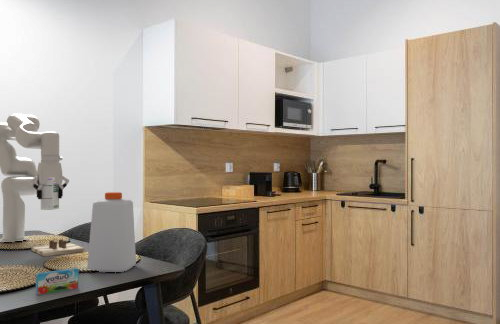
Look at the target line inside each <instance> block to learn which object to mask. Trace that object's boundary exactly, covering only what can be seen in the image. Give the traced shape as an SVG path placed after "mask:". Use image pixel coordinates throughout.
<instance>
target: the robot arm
mask: <svg viewBox="0 0 500 324" xmlns="http://www.w3.org/2000/svg"><path fill="white" fill-rule="evenodd" d="M40 125H41V124H40V120H39V118H38V117H37V116H35V115H33V114H22V113H12V114H11V115H8V117H7V119H6V122H0V172H1V174H2V175H3V176H6V177H5V178H3V180H2V181H1V186H0V187H1V193H2V194H1V195H2V203H3V204H2V237H1V238H0V243H4V242H12V243H15V242H14V241H22V242H24V241H23V240H26V241H28V240H27V239H29V238H28V237H27V236H25V231H26V230H25V229H26V228H25V225H26V224H25V221H26V217H25V216H26V205H25V202H24V200H23V199H22V196H23V197H24V196H35V195H36V198H37V200H41V199H42V190H41V188H42V186H43V185H46V184H47V182H48V178H49V177H55V182H56V185H59V199H62V198H63V196H64V195H63V194H64V192H63V190H65V188H66V187H67V185H68V184H69V182H70V180H69V179H68V178H67V177H65V176H63V168H62V163H61V161H63V157H62V156H60V135H59V133H58V132H56V131H43V132H38V131H39V129H40ZM8 141H16V142H17V144H19V145H20V146H22V147H23V148H25V149H29V150H30V149H34V150H35V149H36V150H37V149H38V150H40V155H41V156H40V162H38V165H37V166H36V163H35V161H34V160H33V159H32V158H29V157H19V156H18V155H17V151H16V149H15V147H14V146H13V145H12V144H11V143H10V142H8ZM63 181H64V183H63Z"/></svg>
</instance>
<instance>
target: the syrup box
mask: <svg viewBox="0 0 500 324" xmlns="http://www.w3.org/2000/svg"><path fill="white" fill-rule="evenodd" d="M41 190H42V199H40V210H41V211H42V210H44V211H51V210H53V211H54V210H58V209H60V198H59V185H56V182H55V177H49V178H48V182H47V184H46V185H43V186H42V188H41Z"/></svg>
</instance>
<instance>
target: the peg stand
mask: <svg viewBox="0 0 500 324" xmlns="http://www.w3.org/2000/svg"><path fill="white" fill-rule="evenodd" d="M54 240H55V239H50V240H49V242H48V243H49V244H46V245H36V246H35V245H34V246H30V251H32V252H34V253H36V254H38V255H40V256H42V257H49V256H58V255H59V256H60V255H67V254H76V253H77V254H78V253H84V252H85V247H82V246H79V245H78V244H74V243H72V242H67V240H65V239H61V238H60V239H58V241H56V240H55V241H54ZM83 251H84V252H83Z"/></svg>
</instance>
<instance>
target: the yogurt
mask: <svg viewBox="0 0 500 324" xmlns="http://www.w3.org/2000/svg"><path fill="white" fill-rule="evenodd" d="M79 271H80V269H79V268H77V267H72V268H67V269H66V268H65V269H57V270H52V271H45V272H38V273H36V274H35V295H36V296H43V295H48V294H54V293H59V292H65V291H71V290H77V289H78V288H79V279H80V275H79V274H80V272H79Z"/></svg>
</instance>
